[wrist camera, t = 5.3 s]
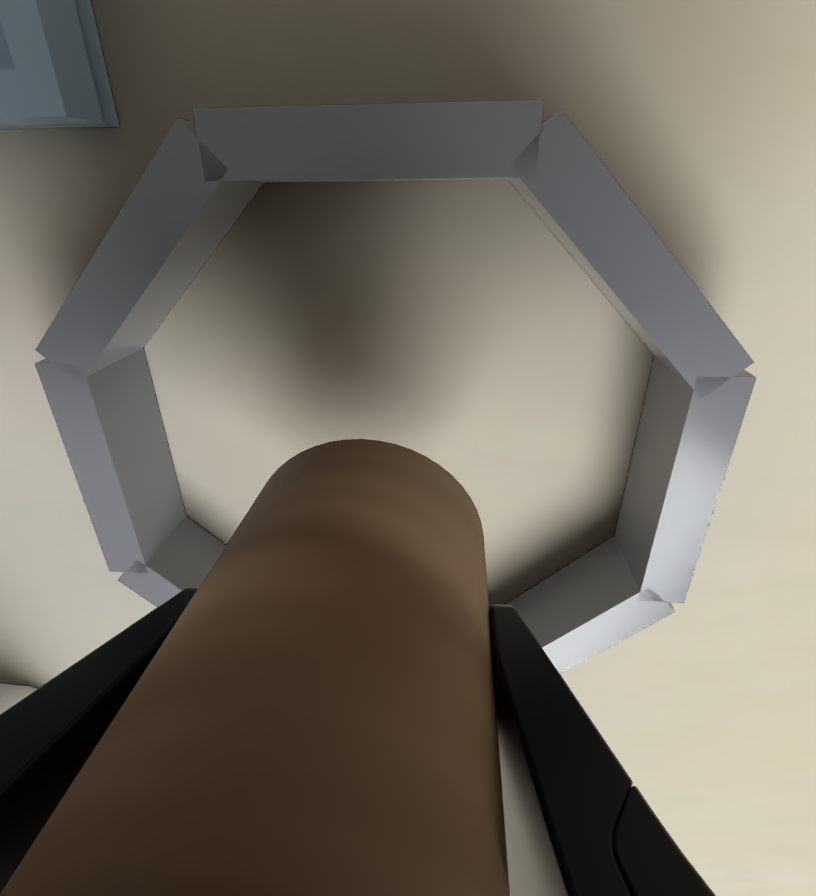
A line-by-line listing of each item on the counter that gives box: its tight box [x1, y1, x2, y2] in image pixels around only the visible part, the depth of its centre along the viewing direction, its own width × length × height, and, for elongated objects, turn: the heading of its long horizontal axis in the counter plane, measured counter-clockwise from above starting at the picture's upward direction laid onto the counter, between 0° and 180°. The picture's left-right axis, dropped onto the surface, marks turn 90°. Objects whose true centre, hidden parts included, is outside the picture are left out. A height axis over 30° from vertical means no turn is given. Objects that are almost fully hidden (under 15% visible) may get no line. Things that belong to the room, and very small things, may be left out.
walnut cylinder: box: [0, 439, 510, 896], centre depth 8 cm, size 5×5×7 cm
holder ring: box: [35, 100, 756, 674], centre depth 14 cm, size 16×16×2 cm
